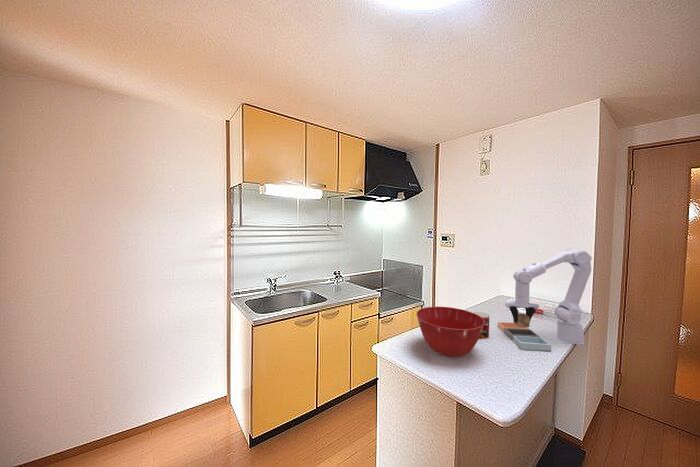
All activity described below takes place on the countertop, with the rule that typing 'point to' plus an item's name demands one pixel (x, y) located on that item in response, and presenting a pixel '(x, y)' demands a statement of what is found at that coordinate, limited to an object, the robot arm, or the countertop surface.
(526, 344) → the dish blue
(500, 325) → the dish terracotta
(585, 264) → the robot arm
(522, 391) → the countertop surface
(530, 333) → the dish charcoal
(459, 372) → the countertop surface
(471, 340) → the mixing bowl
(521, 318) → the letter cube
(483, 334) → the canned food
